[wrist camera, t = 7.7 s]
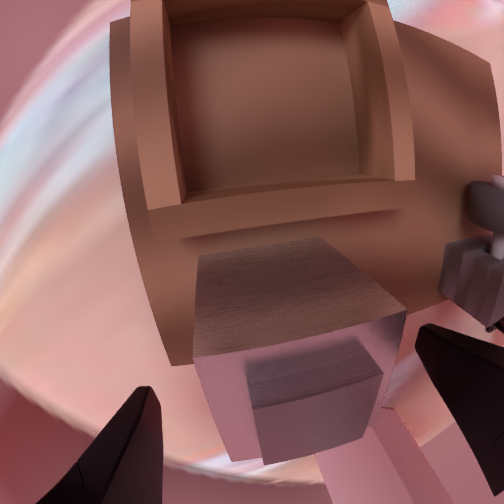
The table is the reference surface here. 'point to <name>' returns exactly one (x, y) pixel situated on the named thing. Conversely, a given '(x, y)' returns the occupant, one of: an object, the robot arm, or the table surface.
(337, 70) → the frame
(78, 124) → the table surface
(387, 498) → the milk
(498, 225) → the wheel
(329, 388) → the block
